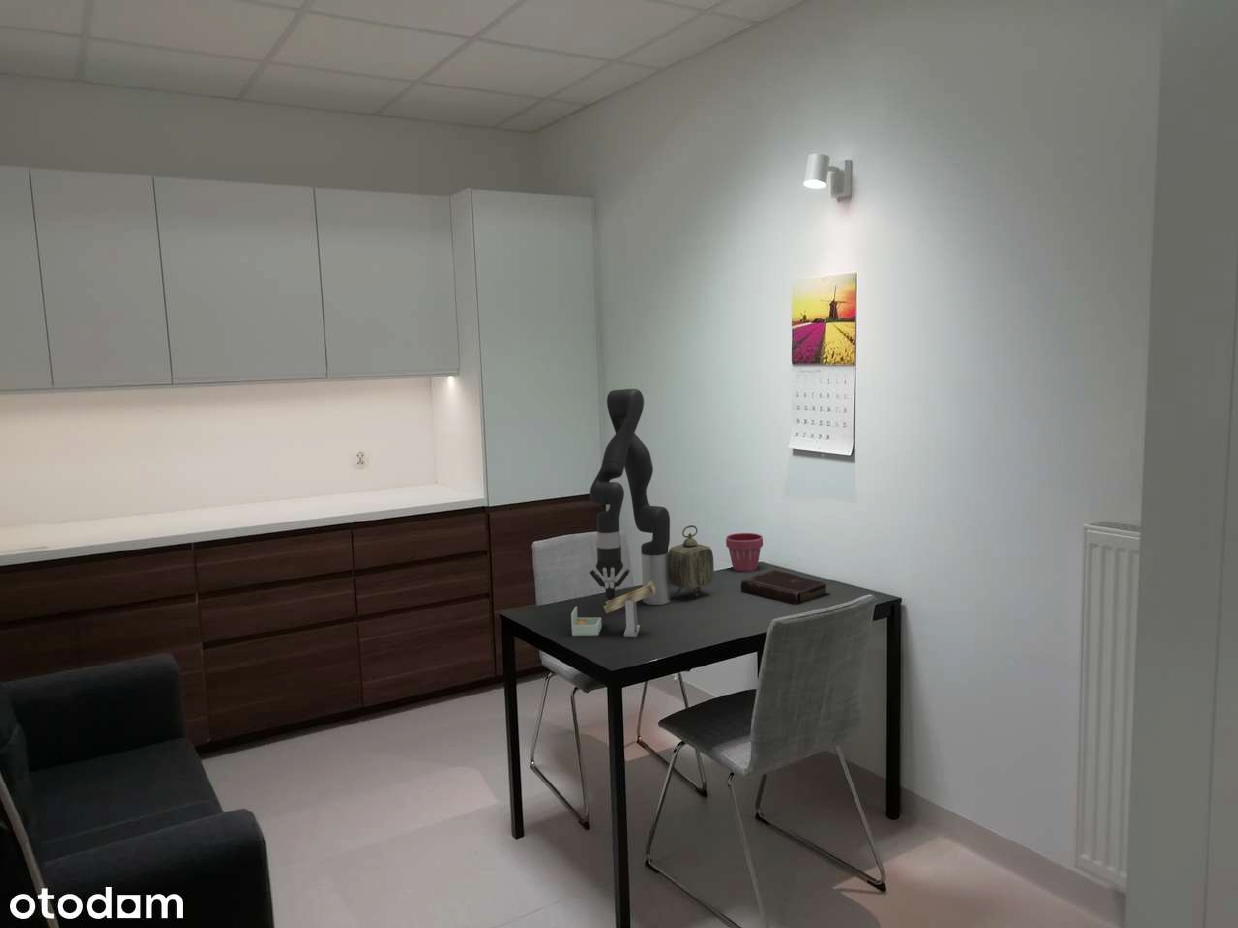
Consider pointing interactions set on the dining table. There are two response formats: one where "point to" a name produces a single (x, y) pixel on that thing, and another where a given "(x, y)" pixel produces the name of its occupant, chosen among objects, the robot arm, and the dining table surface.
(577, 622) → the ball
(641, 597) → the lever
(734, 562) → the plant pot
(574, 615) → the pale green cubby shelf
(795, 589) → the diary
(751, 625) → the dining table surface
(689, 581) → the tabletop clock
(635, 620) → the fulcrum
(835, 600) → the dining table surface
